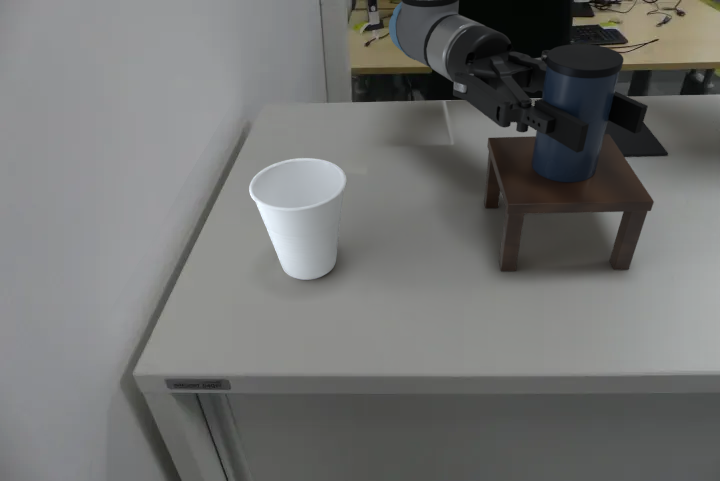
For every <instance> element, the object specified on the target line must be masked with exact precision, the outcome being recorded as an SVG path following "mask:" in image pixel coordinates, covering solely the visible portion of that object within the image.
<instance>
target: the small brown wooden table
mask: <svg viewBox="0 0 720 481" xmlns="http://www.w3.org/2000/svg"><path fill="white" fill-rule="evenodd" d="M535 138H536V135H534V136H503V137H499V136H497V137H496V136H495V137H488V138H487V151H488V156H487V165H486V166H487V167H486V175H485V176H486V177H485V184H484V185H485V186H484V196H483V204H484V208H485V209H498V208H499V205H500V204H499V203H500V197H501V198H502V202H503V204H504V207H505V212H504V218H503V219H504V220H503V226H502V227H503V228H502V233H501V234H502V235H501V243H500V249H499V257H498V265H499V269H500V271H501V272H516V271H517V266H518V260H519V259H518V258H519V252H520V245H521V239H522V234H523V226H524V221H525V215H527V214H528V215H531V214H533V215H534V214H535V215H536V214H568V213H569V214H574V213H575V214H577V213H581V214H582V213H622V215H621V220H620V223H619V226H618V230H617V233H616V236H615V239H614V243H613V245H612V246H613V247H612V250H611V254H610V257H609V262H610V265H611V267H612V269H613V270H616V271H617V270H618V271H619V270H621V271H623V270H630V267H631V264H632V261H633V257H634V255H635V251H636V249H637V245H638V242H639V239H640V236H641V233H642V230H643V226H644V224H645V220H646V218H647V214H648V212H651V211H652V208H653V205H654V203H655V201H654V199H653V198H652V196H651V194H649V191H648V190H647V189H646V187H645V186H644V184H643V182H642V181H641V180H640V178H639V177H638V175H637V173H636V172H635V171H634V170H633V168H632V166H631V165H630V163H629V162H628V161H627V158H626V157H624V156H623V154H622V153H621V151H620V150H619V148H618V147H617V145H616V144H615V142H614V141H613V139H612V138H611V136H610V135H609V134H604V139H603V143H602V147H601V151H600V155H599V159H598V163H597V168H596V171H595V174H594V175H593V176H592V177H591V178H589V179H587V180H584V181H580V182H558V181H554V180H550V179H547V178H545V177H543V176H541V175H539V174H538V173H537V172H535V170H534V169H533V167H532V157H533V150H534V144H535ZM500 195H501V196H500Z"/></svg>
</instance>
